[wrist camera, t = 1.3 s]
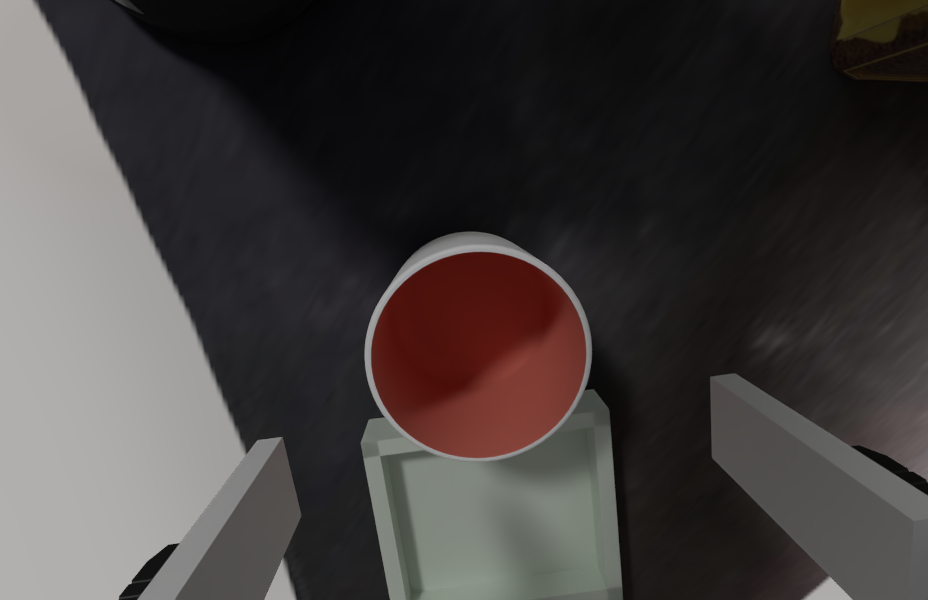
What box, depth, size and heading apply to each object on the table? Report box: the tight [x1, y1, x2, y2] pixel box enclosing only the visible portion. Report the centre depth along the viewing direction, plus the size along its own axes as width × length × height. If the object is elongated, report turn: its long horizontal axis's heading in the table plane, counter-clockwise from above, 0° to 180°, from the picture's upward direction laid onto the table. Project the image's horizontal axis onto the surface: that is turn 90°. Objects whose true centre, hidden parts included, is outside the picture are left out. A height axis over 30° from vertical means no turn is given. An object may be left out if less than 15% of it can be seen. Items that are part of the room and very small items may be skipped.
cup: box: [365, 232, 592, 462], centre depth 26 cm, size 10×10×10 cm
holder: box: [361, 389, 623, 600], centre depth 33 cm, size 26×15×3 cm, turn 7°
